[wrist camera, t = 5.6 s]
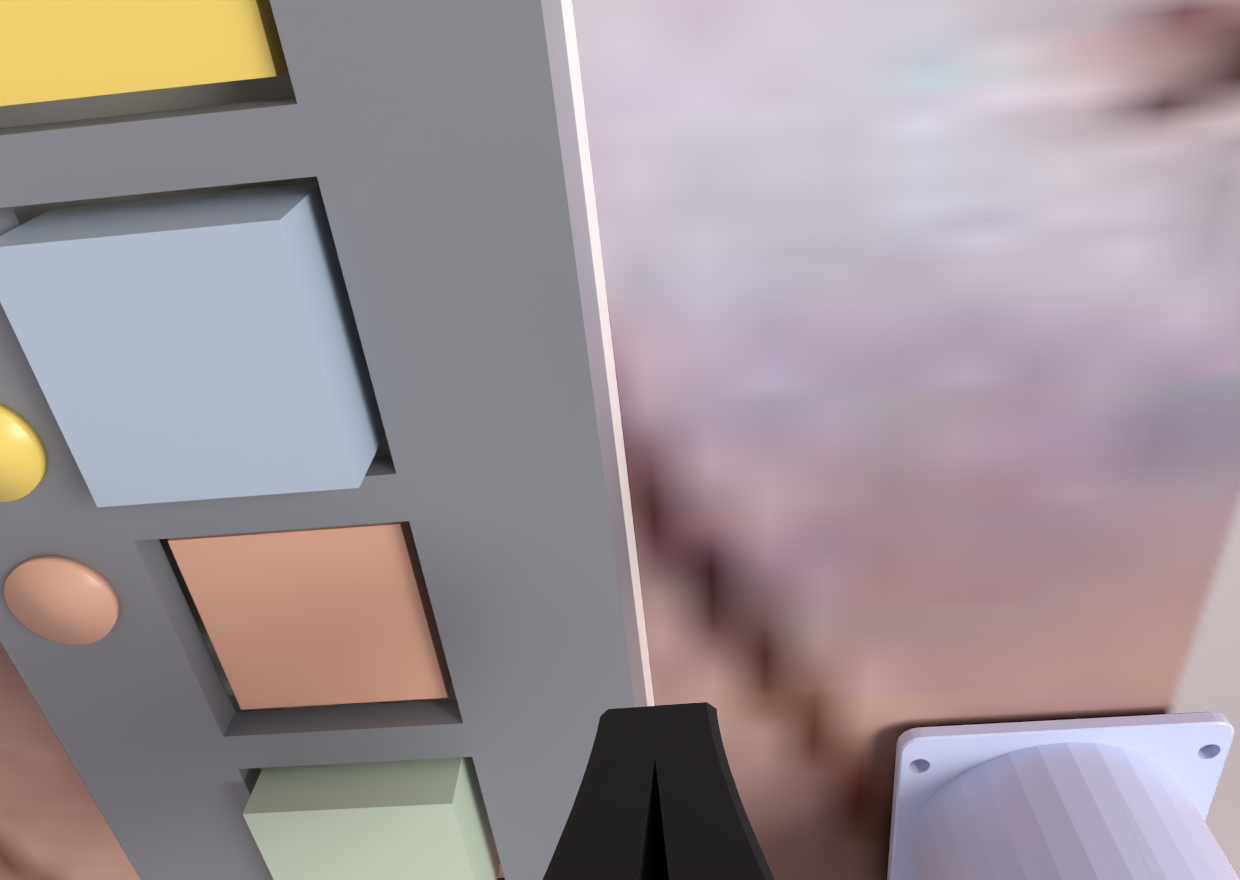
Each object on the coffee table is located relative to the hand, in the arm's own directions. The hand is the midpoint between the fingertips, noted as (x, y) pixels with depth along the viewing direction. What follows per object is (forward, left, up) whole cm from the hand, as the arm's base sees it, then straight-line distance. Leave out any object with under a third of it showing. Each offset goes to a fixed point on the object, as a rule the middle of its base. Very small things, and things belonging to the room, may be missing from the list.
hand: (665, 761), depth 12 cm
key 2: (-1, +6, -6) cm, 9 cm away
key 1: (-7, +6, -5) cm, 10 cm away
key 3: (+4, +6, -5) cm, 9 cm away
